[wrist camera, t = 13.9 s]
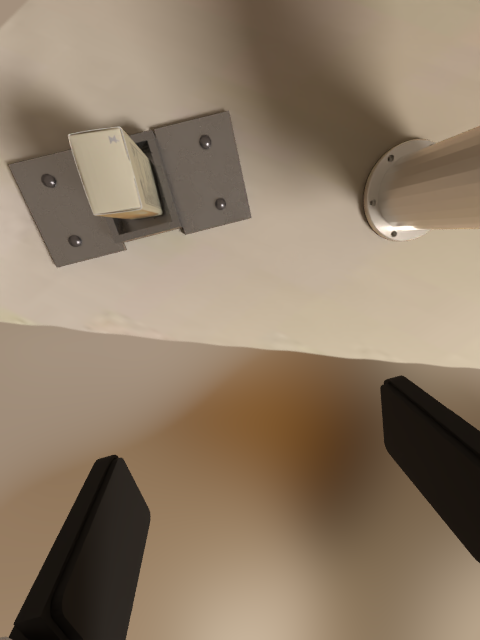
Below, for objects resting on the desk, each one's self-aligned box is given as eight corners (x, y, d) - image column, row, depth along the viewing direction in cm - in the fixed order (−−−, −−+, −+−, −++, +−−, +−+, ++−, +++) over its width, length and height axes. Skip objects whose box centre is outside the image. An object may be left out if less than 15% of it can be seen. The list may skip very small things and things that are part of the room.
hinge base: (228, 113, 32) (230, 99, 28) (250, 218, 35) (254, 216, 32) (13, 166, 31) (-11, 158, 28) (60, 266, 35) (44, 270, 31)
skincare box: (116, 166, 32) (62, 127, 20) (152, 161, 32) (120, 119, 20) (131, 222, 34) (91, 217, 22) (165, 217, 34) (142, 209, 22)
